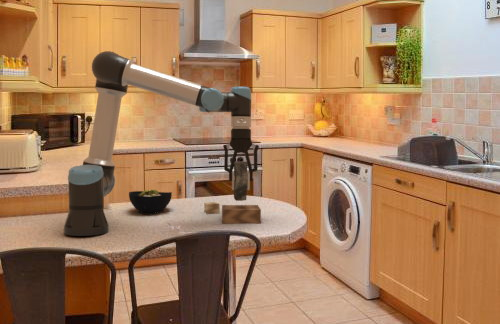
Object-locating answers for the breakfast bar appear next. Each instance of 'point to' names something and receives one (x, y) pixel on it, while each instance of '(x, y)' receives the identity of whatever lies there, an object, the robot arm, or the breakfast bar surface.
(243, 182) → the stone block
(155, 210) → the bowl
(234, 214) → the plinth
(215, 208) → the oak cube
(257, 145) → the robot arm
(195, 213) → the breakfast bar surface
